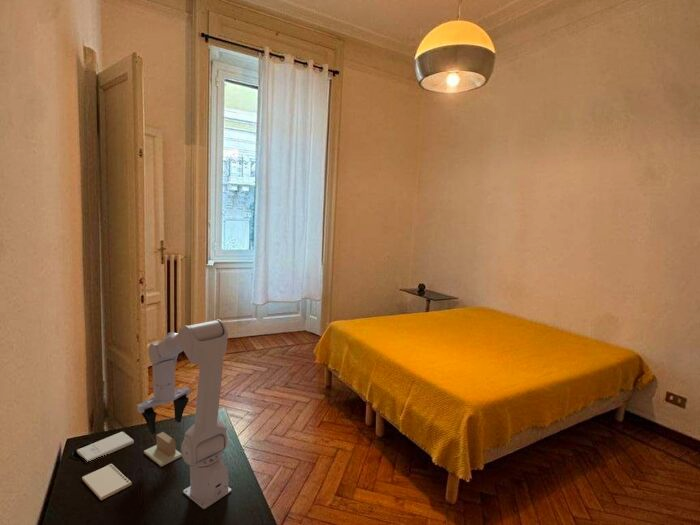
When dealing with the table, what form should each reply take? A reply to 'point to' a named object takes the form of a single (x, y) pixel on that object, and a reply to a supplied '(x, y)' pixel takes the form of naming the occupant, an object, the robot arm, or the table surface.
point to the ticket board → (106, 481)
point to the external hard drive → (105, 446)
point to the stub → (163, 450)
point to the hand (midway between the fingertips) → (165, 426)
